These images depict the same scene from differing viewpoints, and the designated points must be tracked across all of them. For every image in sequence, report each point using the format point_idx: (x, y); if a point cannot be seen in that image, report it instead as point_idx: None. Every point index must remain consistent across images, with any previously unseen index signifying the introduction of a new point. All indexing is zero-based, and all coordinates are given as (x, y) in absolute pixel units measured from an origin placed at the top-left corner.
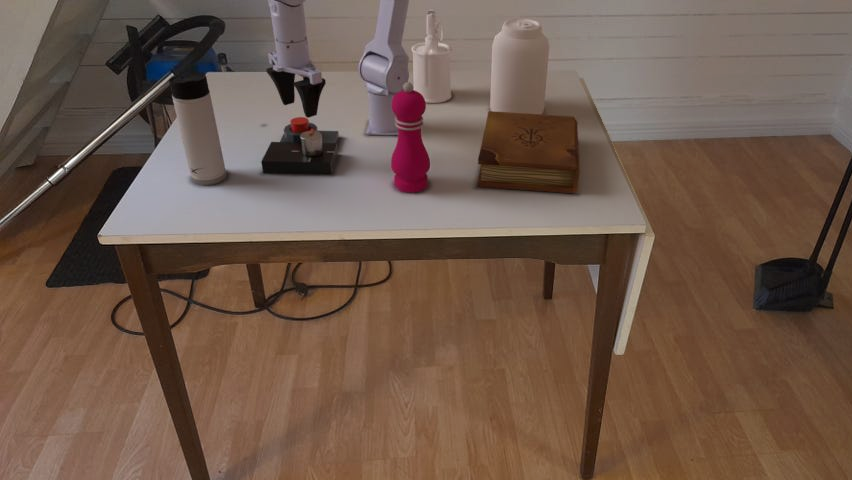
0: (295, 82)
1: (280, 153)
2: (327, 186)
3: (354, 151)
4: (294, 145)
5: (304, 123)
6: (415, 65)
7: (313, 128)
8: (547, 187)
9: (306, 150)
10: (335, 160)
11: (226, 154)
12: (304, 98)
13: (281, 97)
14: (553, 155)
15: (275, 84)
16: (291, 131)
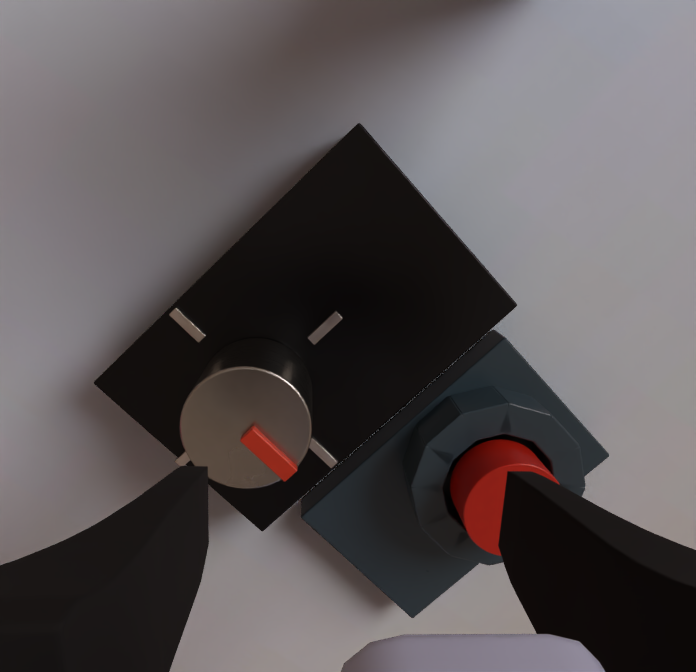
0: (46, 653)
1: (365, 258)
2: (29, 282)
3: (246, 566)
4: (390, 366)
5: (463, 510)
6: None
7: (447, 532)
8: None
9: (229, 349)
10: None
11: (662, 117)
12: (52, 547)
13: (548, 490)
14: None
15: (661, 543)
16: (504, 433)
